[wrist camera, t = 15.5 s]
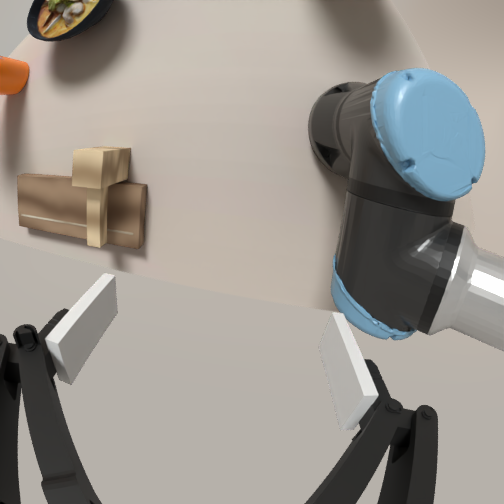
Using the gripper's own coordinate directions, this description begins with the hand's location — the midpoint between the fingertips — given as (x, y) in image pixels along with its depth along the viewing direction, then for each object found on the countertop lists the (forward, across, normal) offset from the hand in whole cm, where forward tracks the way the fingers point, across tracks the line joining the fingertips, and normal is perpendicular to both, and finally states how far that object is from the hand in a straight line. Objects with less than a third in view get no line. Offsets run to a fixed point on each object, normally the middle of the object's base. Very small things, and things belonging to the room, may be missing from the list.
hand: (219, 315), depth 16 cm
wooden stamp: (+29, -21, -1) cm, 36 cm away
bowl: (+29, -33, +33) cm, 55 cm away
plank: (+29, -29, -4) cm, 41 cm away
